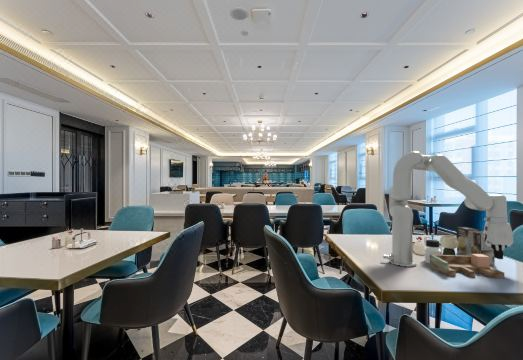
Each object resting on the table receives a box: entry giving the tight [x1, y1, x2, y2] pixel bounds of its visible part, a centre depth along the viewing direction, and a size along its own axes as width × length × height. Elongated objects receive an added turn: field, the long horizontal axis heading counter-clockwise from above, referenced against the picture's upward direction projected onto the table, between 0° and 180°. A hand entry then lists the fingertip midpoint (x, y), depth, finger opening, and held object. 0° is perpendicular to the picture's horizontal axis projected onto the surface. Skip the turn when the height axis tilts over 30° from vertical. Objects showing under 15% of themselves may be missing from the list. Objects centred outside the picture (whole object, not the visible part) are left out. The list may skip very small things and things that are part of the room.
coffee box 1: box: [456, 226, 479, 256], centre depth 152 cm, size 9×6×16 cm
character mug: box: [439, 234, 458, 255], centre depth 143 cm, size 11×7×13 cm, turn 10°
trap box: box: [429, 254, 505, 279], centre depth 122 cm, size 24×14×6 cm, turn 82°
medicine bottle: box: [424, 238, 442, 264], centre depth 138 cm, size 7×7×12 cm
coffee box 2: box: [471, 230, 496, 266], centre depth 138 cm, size 9×6×16 cm
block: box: [471, 254, 491, 267], centre depth 124 cm, size 5×5×5 cm
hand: (498, 258), depth 123 cm, fingers closed
